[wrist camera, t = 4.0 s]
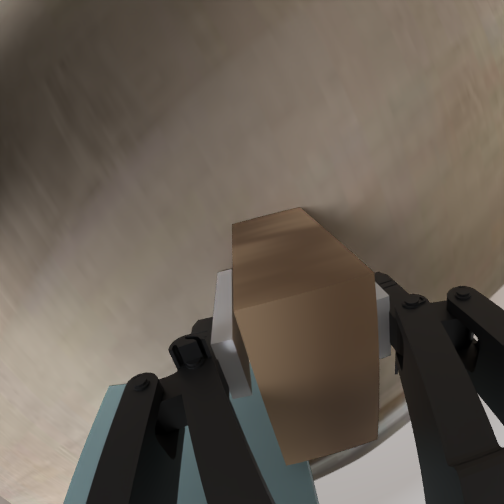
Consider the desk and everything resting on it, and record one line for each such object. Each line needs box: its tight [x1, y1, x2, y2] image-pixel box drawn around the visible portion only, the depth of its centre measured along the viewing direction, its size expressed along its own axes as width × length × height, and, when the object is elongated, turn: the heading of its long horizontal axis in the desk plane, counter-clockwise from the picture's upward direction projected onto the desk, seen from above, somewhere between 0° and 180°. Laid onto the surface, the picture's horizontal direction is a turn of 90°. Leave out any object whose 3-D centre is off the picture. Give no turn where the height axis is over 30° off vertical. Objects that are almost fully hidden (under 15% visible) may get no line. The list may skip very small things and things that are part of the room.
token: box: [232, 207, 379, 466], centre depth 13 cm, size 4×7×9 cm, turn 14°
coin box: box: [63, 363, 319, 504], centre depth 15 cm, size 12×14×12 cm
